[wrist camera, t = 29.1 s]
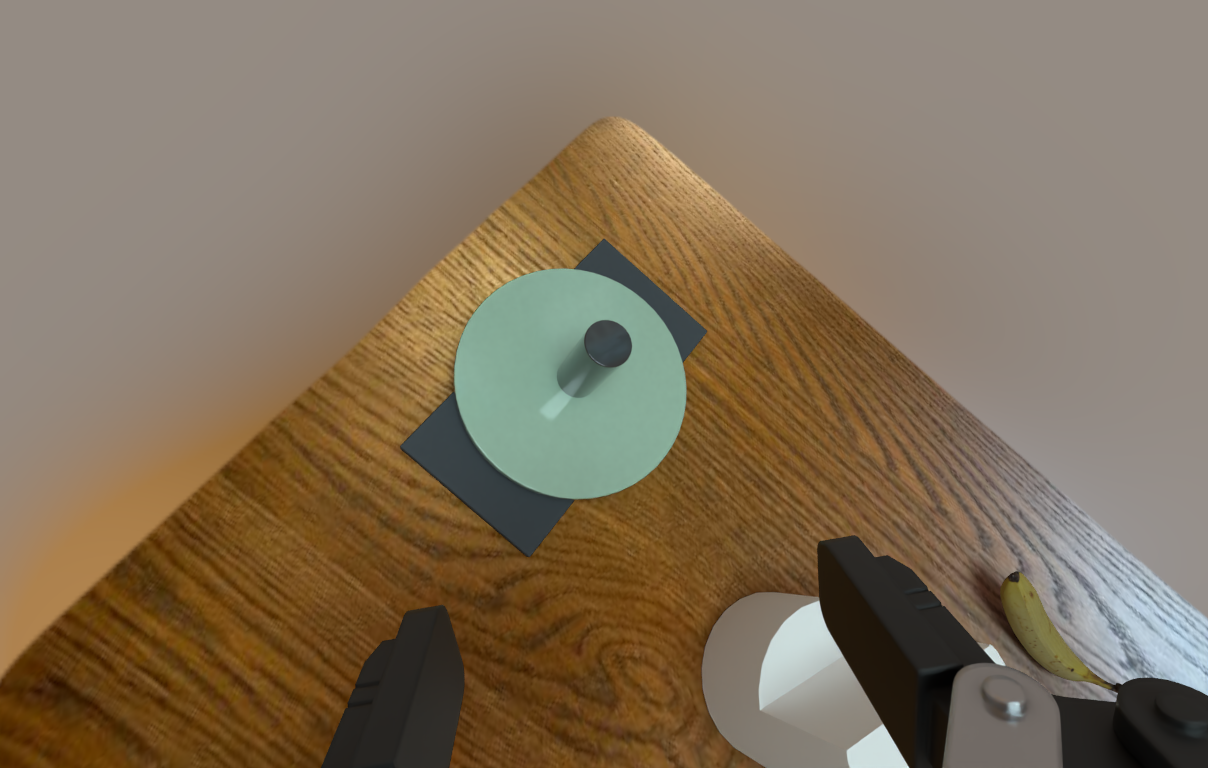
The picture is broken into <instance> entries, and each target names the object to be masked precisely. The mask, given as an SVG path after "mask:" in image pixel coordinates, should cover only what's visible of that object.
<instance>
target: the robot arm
mask: <svg viewBox="0 0 1208 768" xmlns="http://www.w3.org/2000/svg"><path fill="white" fill-rule="evenodd" d="M817 553H818V579H819V601H820V607H821V612H822V615H823V619H824V621H825V624H826V626H827V629H828V631H829V632H830V634H831V636H832V638H833V639H834V641H835V643H836V644H837V646H838V648H839V649H840V651H841V653H842V655H843V656H844V658H845V660H846V661H847V663H848V665H849V666H850V668H851V670H852V672H853V673H854V675H855V677H856V678H857V680H858V682H859V683H860V685H861V687H862V689H863V690H864V692H865V694H866V695H867V697H868V699H869V700H870V702H871V704H872V706H873V707H874V709H875V711H876V712H877V714H878V716H879V717H880V719H881V721H882V723H883V724H884V726H885V728H886V729H887V731H888V733H889V734H890V736H891V738H892V740H893V741H894V743H895V745H896V746H897V748H898V750H899V751H900V753H901V755H902V757H903V758H904V760H905V762H906V763H907V765H908V767H909V768H1208V696H1207V695H1205V694H1203V693H1202V692H1200V691H1197V690H1195V689H1193V688H1191V687H1188V686H1185V685H1182V684H1180V683H1176V682H1172V681H1169V680H1164V679H1158V678H1137V679H1132V680H1130V681H1127V682H1125V683H1124V684H1123V685H1122V686H1121V687H1120V689H1119V690H1118V695H1117V700H1116V702H1107V701H1097V700H1088V699H1078V698H1068V697H1061V696H1056V695H1052V694H1050V693H1049V692H1048V690H1047V689H1046V688H1045V687H1043V686H1042V685H1041V684H1040V683H1039V682H1037V681H1036V680H1034V679H1033V678H1032V677H1030V676H1028V675H1026V674H1024V673H1023V672H1020V671H1018V670H1016V669H1013V668H1010V667H1007V666H1003V665H999V664H996V663H995V662H994V661H993V660H992V659H991V658H990V657H989V656H988V654H987V653H986V652H985V651H984V650H983V649H982V648H981V647H980V645H979V644H978V643H977V642H976V641H975V640H974V639H973V638H972V637H971V635H970V634H969V633H968V632H967V631H966V630H965V629H964V628H963V626H962V625H961V624H960V623H959V622H958V621H957V620H956V619H955V618H954V616H953V615H952V614H951V613H950V612H949V611H948V610H947V609H946V607H945V606H943V607H942V605H941V602H940V601H939V600H938V599H937V597H936V596H935V595H934V594H933V593H932V592H931V591H928V588H927V586H926V585H925V584H924V583H923V582H922V581H921V580H920V578H919V577H918V576H917V575H916V574H915V573H914V572H913V571H912V569H910V568H908V567H907V566H905V565H903V564H901V563H900V562H898V561H896V560H895V559H893V558H891V557H890V556H888V555H886V556H881V557H874V556H873V554H872V553H871V552H870V551H869V550H868V548H867V547H866V546H865V545H864V544H863V542H862V541H861V540H860V539H859V538H858V537H857V536H855V535H854V536H848V537H842V538H836V539H830V540H824V541H820V542H819V543H818V548H817ZM355 685H356V688H355V689H353V692H352V694H351V697H350V699H349V701H348V708H346V709H345V711H344V713H343V716H342V718H341V721H340V723H339V726H338V728H337V730H336V733H335V735H334V738H333V740H332V742H331V745H330V747H329V750H328V752H327V755H326V757H325V759H324V762H323V764H322V767H321V768H449V766H450V760H451V755H452V750H453V745H454V740H455V735H456V730H457V725H458V720H459V714H460V709H461V704H462V699H463V694H464V667H463V662H462V658H461V655H460V651H459V648H458V645H457V641H456V638H455V635H454V631H453V628H452V625H451V621H450V618H449V615H448V612H447V609H446V608H445V606H444V605H439V606H433V607H428V608H422V609H416V610H410V611H407V612H406V613H405V615H404V617H403V620H402V623H401V625H400V628H399V631H398V634H397V636H396V639H392V640H386V641H382V642H381V644H380V645H379V646H378V647H377V648H376V649H375V651H374V652H373V653H372V654H371V655H370V657H369V658H368V659H367V660H366V661H365V663H364V665H363V668H362V670H361V672H360V675H359V677H358V680H357V682H356V684H355Z"/></svg>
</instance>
